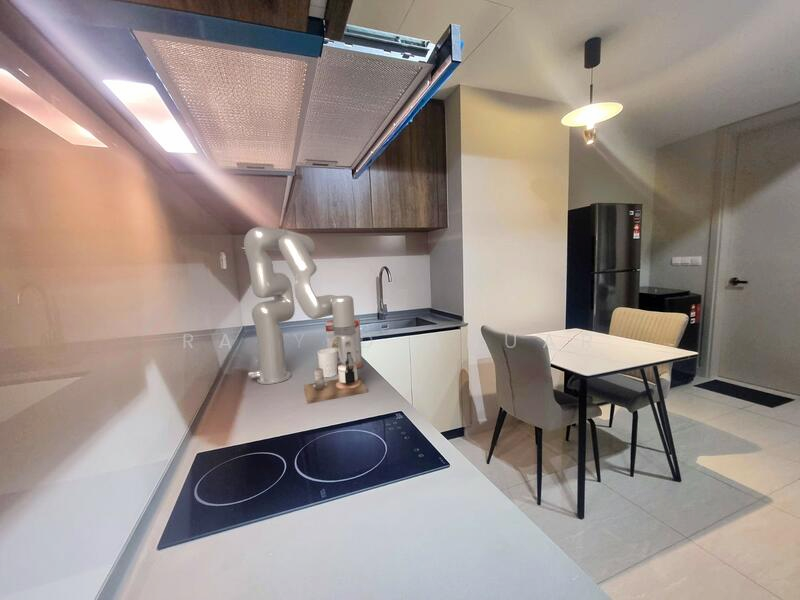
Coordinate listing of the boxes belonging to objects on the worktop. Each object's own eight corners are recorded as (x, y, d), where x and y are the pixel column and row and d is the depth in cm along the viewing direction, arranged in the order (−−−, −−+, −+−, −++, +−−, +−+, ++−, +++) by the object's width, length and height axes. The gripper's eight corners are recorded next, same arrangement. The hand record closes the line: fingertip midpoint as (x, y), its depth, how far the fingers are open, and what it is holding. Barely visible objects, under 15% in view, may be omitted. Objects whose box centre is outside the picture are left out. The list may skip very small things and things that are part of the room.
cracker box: (328, 370, 136) (324, 322, 134) (330, 366, 142) (327, 319, 140) (361, 368, 136) (358, 320, 134) (362, 364, 142) (359, 318, 140)
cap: (359, 380, 113) (358, 367, 113) (340, 384, 111) (339, 370, 110) (355, 375, 119) (354, 362, 119) (337, 378, 117) (336, 365, 117)
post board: (307, 403, 104) (305, 378, 103) (304, 388, 117) (302, 366, 116) (366, 392, 111) (365, 368, 110) (357, 379, 124) (356, 358, 123)
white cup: (332, 379, 126) (330, 354, 125) (315, 377, 128) (313, 353, 127) (342, 372, 133) (340, 348, 132) (325, 371, 136) (324, 348, 135)
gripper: (360, 333, 106) (364, 385, 108) (350, 325, 123) (353, 370, 125) (338, 336, 104) (342, 389, 106) (330, 327, 120) (333, 373, 122)
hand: (348, 378), depth 115 cm, fingers closed on cap, 6 cm apart
